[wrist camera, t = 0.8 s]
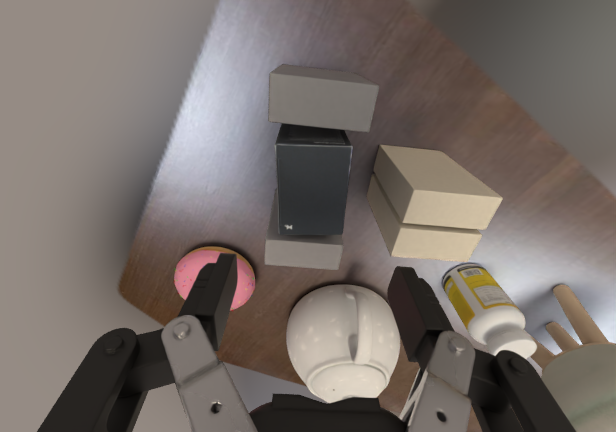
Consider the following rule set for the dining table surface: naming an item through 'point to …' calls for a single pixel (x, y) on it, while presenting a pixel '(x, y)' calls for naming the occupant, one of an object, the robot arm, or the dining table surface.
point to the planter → (580, 368)
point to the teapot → (343, 342)
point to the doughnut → (201, 256)
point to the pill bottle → (487, 310)
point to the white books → (428, 204)
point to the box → (312, 179)
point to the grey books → (317, 113)
